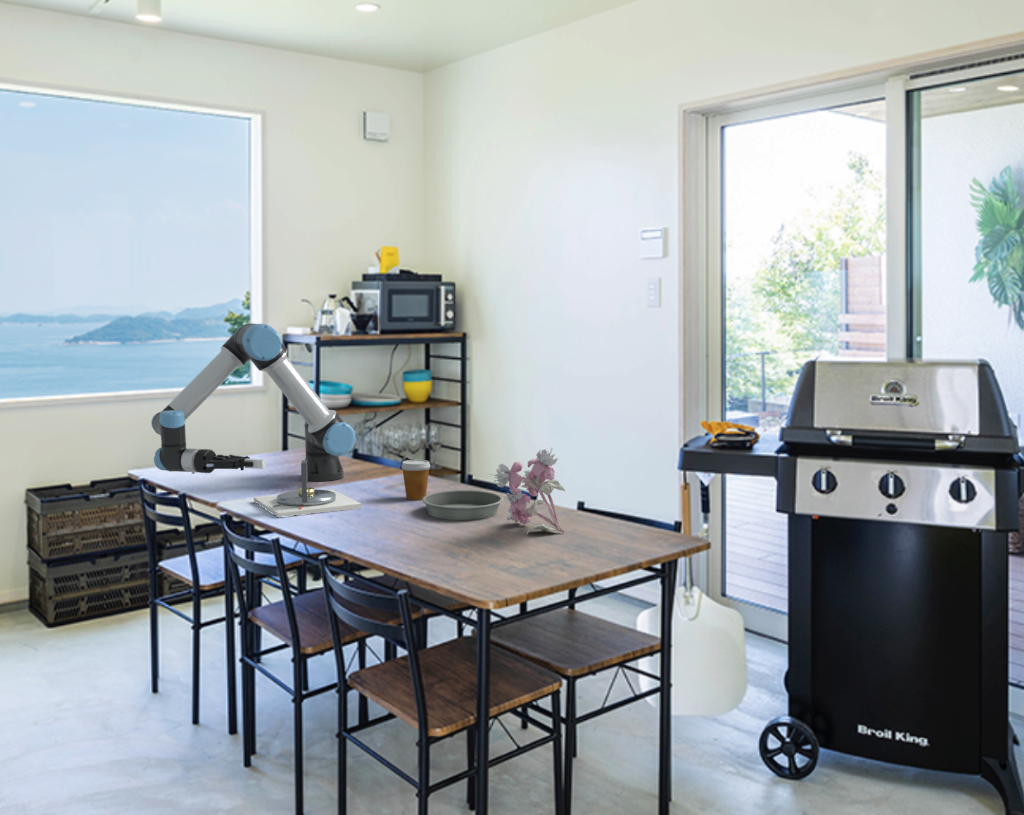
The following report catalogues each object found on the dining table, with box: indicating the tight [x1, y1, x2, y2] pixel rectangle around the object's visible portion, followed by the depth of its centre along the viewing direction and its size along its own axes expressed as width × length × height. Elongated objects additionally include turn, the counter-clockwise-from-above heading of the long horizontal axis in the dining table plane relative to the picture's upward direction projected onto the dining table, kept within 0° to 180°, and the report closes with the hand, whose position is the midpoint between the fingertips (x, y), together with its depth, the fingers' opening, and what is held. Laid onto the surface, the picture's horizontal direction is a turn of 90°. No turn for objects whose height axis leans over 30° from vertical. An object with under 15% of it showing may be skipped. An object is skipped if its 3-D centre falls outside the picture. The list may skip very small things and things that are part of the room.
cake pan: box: [421, 489, 504, 521], centre depth 286 cm, size 25×25×4 cm
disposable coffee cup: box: [400, 459, 431, 501], centre depth 305 cm, size 10×10×12 cm
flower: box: [489, 447, 566, 535], centre depth 264 cm, size 20×22×25 cm
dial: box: [277, 459, 336, 506], centre depth 293 cm, size 20×18×13 cm
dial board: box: [253, 489, 362, 518], centre depth 295 cm, size 26×26×2 cm
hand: (263, 464), depth 290 cm, fingers closed
